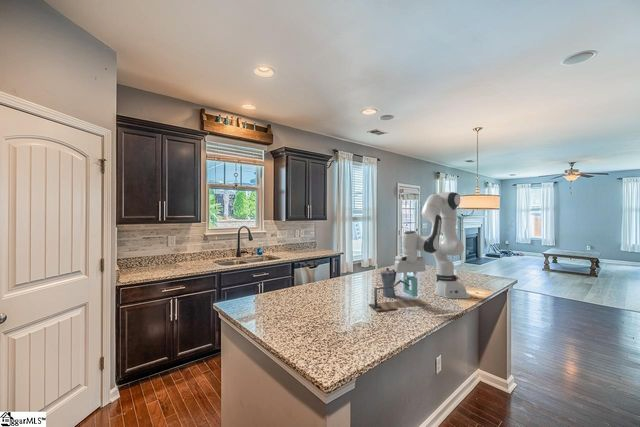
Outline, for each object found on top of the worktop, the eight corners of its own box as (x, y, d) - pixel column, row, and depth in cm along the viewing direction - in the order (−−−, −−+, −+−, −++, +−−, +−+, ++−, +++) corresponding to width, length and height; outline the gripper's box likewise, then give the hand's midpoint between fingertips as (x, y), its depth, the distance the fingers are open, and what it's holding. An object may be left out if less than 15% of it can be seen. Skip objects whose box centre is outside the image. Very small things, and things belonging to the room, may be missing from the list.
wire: (407, 302, 176) (407, 278, 176) (412, 304, 172) (412, 280, 172) (370, 305, 170) (369, 281, 170) (373, 308, 165) (373, 283, 165)
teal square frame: (407, 291, 180) (407, 274, 180) (417, 296, 169) (417, 278, 169) (403, 291, 179) (403, 274, 179) (413, 296, 168) (412, 278, 168)
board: (419, 300, 182) (419, 299, 182) (431, 306, 171) (431, 304, 171) (368, 305, 174) (368, 303, 174) (377, 312, 162) (377, 310, 162)
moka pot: (376, 297, 190) (376, 268, 190) (389, 293, 201) (389, 265, 201) (388, 300, 183) (388, 270, 183) (401, 295, 194) (401, 267, 194)
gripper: (421, 255, 180) (421, 277, 180) (392, 257, 175) (392, 279, 175) (427, 257, 174) (427, 279, 173) (397, 258, 169) (398, 281, 168)
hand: (410, 279), depth 174 cm, fingers closed on teal square frame, 3 cm apart
